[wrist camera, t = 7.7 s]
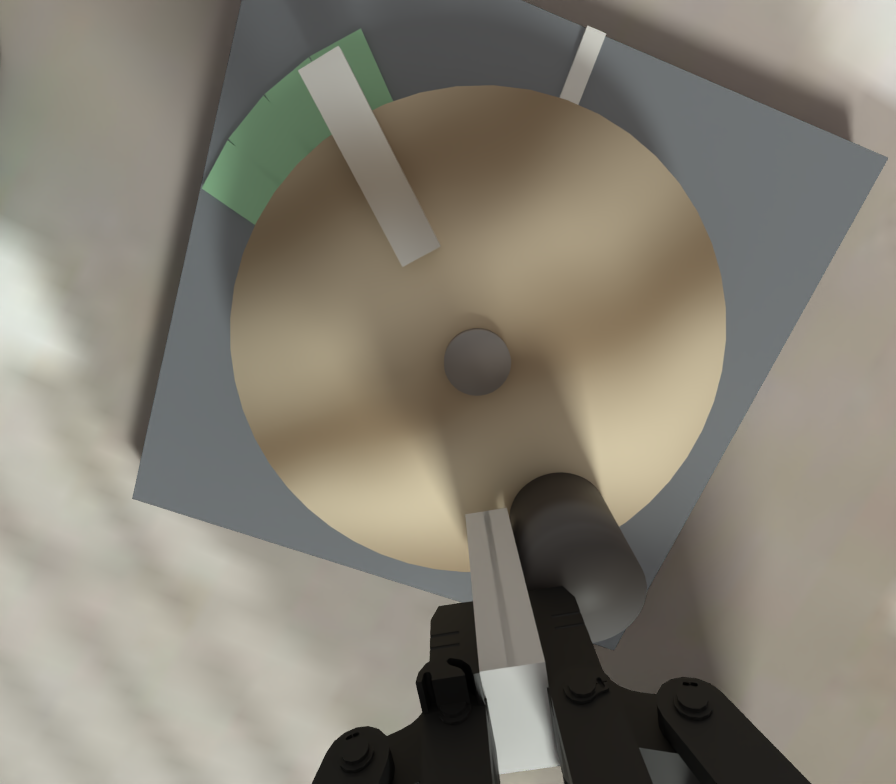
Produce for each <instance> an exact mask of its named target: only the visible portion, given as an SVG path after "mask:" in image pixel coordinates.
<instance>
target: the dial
mask: <svg viewBox="0 0 896 784" xmlns="http://www.w3.org/2000/svg"><path fill="white" fill-rule="evenodd" d="M298 72H299V74H300V75H301V77H302V79H303V81H304V83H305V85H306V87H307V89H308V90H309V92H310V94H311V96H312V98H313V100H314V102H315V104H316V105H317V107H318V109H319V111H320V113H321V115H322V117H323V119H324V120H325V122H326V124H327V126H328V128H329V130H330V132H331V134H332V135H330V136H329V137H327V138H326V139H325V140H323V141H322V142H321V143H320V144H319V145H318V146H317V147H315V148H314V149H313V150H312V151H311V152H310V153H309V154H308V155H307V156H306V157H305V158H304V159H302V160H301V161H300V162H299V163H298V164H297V165H296V166H295V167H294V169H293V170H292V171H291V172H290V174H289V175H288V176H287V177H286V179H285V180H284V181H283V182H282V183H281V185H280V186H279V187H278V188H277V190H276V191H275V192H274V194H273V195H272V197H271V199H270V200H269V202H268V204H267V205H266V207H265V209H264V210H263V212H262V214H261V215H260V217H259V219H258V220H257V222H256V224H255V226H254V229H253V231H252V233H251V236H250V238H249V241H248V243H247V245H246V248H245V250H244V252H243V255H242V259H241V263H240V266H239V270H238V274H237V278H236V281H235V285H234V292H233V300H232V308H231V315H230V350H231V357H232V364H233V372H234V379H235V383H236V387H237V390H238V394H239V398H240V401H241V405H242V409H243V412H244V414H245V416H246V419H247V421H248V423H249V426H250V428H251V430H252V433H253V435H254V438H255V440H256V441H257V443H258V445H259V446H260V448H261V450H262V452H263V453H264V455H265V457H266V458H267V460H268V462H269V464H270V465H271V466H272V468H273V469H274V470H275V472H276V473H277V474H278V476H279V477H280V478H281V480H282V481H283V482H284V483H285V485H286V486H287V487H288V488H289V490H290V491H291V492H292V493H293V494H294V495H295V496H296V497H297V498H298V499H299V500H300V501H301V502H302V503H303V504H304V505H305V506H306V507H307V508H308V509H309V510H311V511H312V512H313V513H314V514H315V515H317V516H318V517H319V518H320V519H322V520H323V521H324V522H325V523H327V524H328V525H329V526H330V527H332V528H334V529H335V530H337V531H338V532H340V533H342V534H343V535H345V536H346V537H348V538H350V539H351V540H353V541H354V542H356V543H358V544H360V545H363V546H365V547H367V548H369V549H371V550H373V551H375V552H377V553H380V554H382V555H385V556H388V557H391V558H394V559H397V560H400V561H403V562H406V563H409V564H414V565H418V566H423V567H428V568H432V569H438V570H448V571H458V572H470V561H469V550H468V539H467V528H466V517H465V514H470V513H477V512H483V511H489V510H495V509H502V508H507V511H508V515H509V519H510V523H511V527H512V531H513V535H514V539H515V543H516V547H517V551H518V555H519V559H520V563H521V567H522V571H523V575H524V579H525V583H526V587H527V591H532V590H539V589H545V588H551V587H558V586H563V587H564V588H566V589H567V590H568V591H569V592H570V593H571V594H572V595H573V596H575V598H576V601H577V604H578V606H579V609H580V613H581V614H582V617H583V620H584V622H585V625H586V628H587V630H588V633H589V636H590V638H591V641H592V643H594V642H599V641H603V640H606V639H608V638H611V637H613V636H615V635H617V634H619V633H620V632H622V631H623V630H625V629H626V628H627V627H628V626H629V625H630V624H631V623H632V622H633V621H634V620H635V619H636V618H637V616H638V615H639V613H640V612H641V610H642V608H643V605H644V603H645V599H646V594H647V582H646V578H645V574H644V572H643V569H642V568H641V566H640V564H639V562H638V560H637V558H636V557H635V555H634V553H633V551H632V549H631V548H630V546H629V544H628V542H627V540H626V539H625V537H624V535H623V533H622V531H621V530H620V528H619V527H620V526H621V525H623V524H624V523H626V522H627V521H628V520H629V519H631V518H632V517H633V516H634V515H635V514H637V513H638V512H639V511H640V510H641V509H642V508H644V507H645V506H646V505H647V504H648V503H649V502H650V501H651V500H652V499H653V498H654V497H655V496H656V495H657V494H658V493H659V492H660V491H661V490H662V489H663V488H664V487H665V485H666V484H667V483H668V482H669V481H670V480H671V478H672V477H673V476H674V474H675V473H676V472H677V470H678V469H679V468H680V466H681V465H682V464H683V462H684V461H685V459H686V458H687V457H688V455H689V453H690V451H691V450H692V448H693V446H694V444H695V442H696V441H697V439H698V437H699V435H700V434H701V432H702V430H703V427H704V425H705V422H706V420H707V418H708V415H709V413H710V410H711V408H712V405H713V403H714V400H715V396H716V392H717V388H718V384H719V381H720V377H721V373H722V367H723V359H724V352H725V344H726V305H725V299H724V292H723V285H722V278H721V273H720V269H719V266H718V263H717V259H716V256H715V252H714V249H713V245H712V242H711V240H710V238H709V236H708V233H707V231H706V229H705V227H704V225H703V222H702V220H701V218H700V216H699V214H698V212H697V210H696V208H695V207H694V205H693V204H692V202H691V201H690V199H689V197H688V196H687V194H686V193H685V191H684V190H683V188H682V186H681V185H680V183H679V182H678V181H677V180H676V179H675V177H674V176H673V175H672V174H671V173H670V172H669V171H668V169H667V168H666V167H665V166H664V165H663V164H662V162H661V161H660V160H659V159H658V158H657V157H656V156H655V155H654V154H653V153H652V152H651V151H649V150H648V149H647V148H646V147H645V146H644V145H642V144H641V143H640V142H639V141H638V140H637V139H635V138H634V137H633V136H632V135H631V134H630V133H628V132H626V131H625V130H623V129H622V128H620V127H619V126H617V125H615V124H614V123H612V122H611V121H609V120H607V119H606V118H604V117H603V116H601V115H600V114H598V113H595V112H593V111H591V110H588V109H586V108H584V107H582V106H579V105H577V104H575V103H573V102H570V101H568V100H566V99H562V98H559V97H555V96H551V95H548V94H544V93H540V92H537V91H533V90H528V89H520V88H512V87H504V86H495V85H485V86H455V87H449V88H443V89H438V90H432V91H426V92H420V93H417V94H414V95H411V96H408V97H405V98H402V99H399V100H396V101H393V102H390V103H387V104H384V105H382V106H380V107H378V108H376V109H374V110H372V109H371V107H370V105H369V103H368V101H367V99H366V97H365V95H364V93H363V91H362V89H361V87H360V85H359V83H358V81H357V79H356V77H355V75H354V73H353V71H352V69H351V67H350V65H349V63H348V61H347V60H346V58H345V56H344V54H343V52H342V50H341V49H340V47H339V46H337V47H335V48H334V49H332V50H330V51H329V52H327V53H325V54H324V55H322V56H321V57H319V58H317V59H316V60H314V61H312V62H311V63H309V64H308V65H306V66H304V67H303V68H301V69H299V70H298Z"/></svg>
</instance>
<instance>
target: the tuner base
mask: <svg viewBox="0 0 896 784" xmlns="http://www.w3.org/2000/svg"><path fill="white" fill-rule="evenodd" d="M337 46H339V47H340V49H341V50H342V52H343V54H344V56H345V58H346V60H347V61H348V63H349V65H350V67H351V69H352V71H353V73H354V75H355V77H356V79H357V81H358V83H359V85H360V87H361V89H362V91H363V93H364V95H365V97H366V99H367V101H368V103H369V105H370V107H371V109H372V110H374V109H376V108H378V107H380V106H382V105H384V104H387V103H390V102H393V101H396V100H399V99H402V98H405V97H408V96H411V95H414V94H417V93H420V92H426V91H432V90H438V89H443V88H449V87H455V86H485V85H495V86H504V87H512V88H520V89H528V90H533V91H537V92H540V93H544V94H548V95H551V96H555V97H559V98H562V99H566V100H568V101H570V102H573V103H575V104H577V105H579V106H582V107H584V108H586V109H588V110H591V111H593V112H595V113H598V114H600V115H601V116H603V117H604V118H606V119H607V120H609V121H611V122H612V123H614V124H615V125H617V126H619V127H620V128H622V129H623V130H625V131H626V132H628V133H630V134H631V135H632V136H633V137H634V138H635V139H637V140H638V141H639V142H640V143H641V144H642V145H644V146H645V147H646V148H647V149H648V150H649V151H651V152H652V153H653V154H654V155H655V156H656V157H657V158H658V159H659V160H660V161H661V162H662V164H663V165H664V166H665V167H666V168H667V169H668V171H669V172H670V173H671V174H672V175H673V176H674V177H675V179H676V180H677V181H678V182H679V183H680V185H681V186H682V188H683V190H684V191H685V193H686V194H687V196H688V197H689V199H690V201H691V202H692V204H693V205H694V207H695V208H696V210H697V212H698V214H699V216H700V218H701V220H702V222H703V225H704V227H705V229H706V231H707V233H708V236H709V238H710V240H711V242H712V245H713V249H714V252H715V256H716V259H717V263H718V266H719V269H720V273H721V278H722V285H723V292H724V299H725V305H726V344H725V352H724V359H723V367H722V373H721V377H720V381H719V384H718V388H717V392H716V396H715V400H714V403H713V405H712V408H711V410H710V413H709V415H708V418H707V420H706V422H705V425H704V427H703V430H702V432H701V434H700V435H699V437H698V439H697V441H696V442H695V444H694V446H693V448H692V450H691V451H690V453H689V455H688V457H687V458H686V459H685V461H684V462H683V464H682V465H681V466H680V468H679V469H678V470H677V472H676V473H675V474H674V476H673V477H672V478H671V480H670V481H669V482H668V483H667V484H666V485H665V487H664V488H663V489H662V490H661V491H660V492H659V493H658V494H657V495H656V496H655V497H654V498H653V499H652V500H651V501H650V502H649V503H648V504H647V505H646V506H645V507H644V508H642V509H641V510H640V511H639V512H638V513H637V514H635V515H634V516H633V517H632V518H631V519H629V520H628V521H627V522H626V523H624V524H623V525H621V526H620V527H619V528H620V530H621V531H622V533H623V535H624V537H625V539H626V540H627V542H628V544H629V546H630V548H631V549H632V551H633V553H634V555H635V557H636V558H637V560H638V562H639V564H640V566H641V568H642V569H643V572H644V574H645V578H646V582H647V590H648V588H649V587H650V585H651V583H652V581H653V579H654V578H655V576H656V574H657V572H658V571H659V569H660V567H661V565H662V563H663V562H664V560H665V558H666V556H667V554H668V553H669V551H670V549H671V547H672V545H673V544H674V542H675V540H676V538H677V536H678V535H679V533H680V531H681V529H682V527H683V526H684V524H685V522H686V520H687V518H688V517H689V515H690V513H691V511H692V510H693V508H694V506H695V504H696V502H697V501H698V499H699V497H700V495H701V493H702V492H703V490H704V488H705V486H706V484H707V483H708V481H709V479H710V477H711V475H712V474H713V472H714V470H715V468H716V466H717V465H718V463H719V461H720V459H721V457H722V456H723V454H724V452H725V450H726V448H727V447H728V445H729V443H730V441H731V440H732V438H733V436H734V434H735V432H736V431H737V429H738V427H739V425H740V423H741V422H742V420H743V418H744V416H745V414H746V413H747V411H748V409H749V407H750V405H751V404H752V402H753V400H754V398H755V396H756V395H757V393H758V391H759V389H760V387H761V386H762V384H763V382H764V380H765V379H766V377H767V375H768V373H769V371H770V370H771V368H772V366H773V364H774V362H775V361H776V359H777V357H778V355H779V353H780V352H781V350H782V348H783V346H784V344H785V343H786V341H787V339H788V337H789V335H790V334H791V332H792V330H793V328H794V326H795V325H796V323H797V321H798V319H799V317H800V316H801V314H802V312H803V310H804V309H805V307H806V305H807V303H808V301H809V300H810V298H811V296H812V294H813V292H814V291H815V289H816V287H817V285H818V283H819V282H820V280H821V278H822V276H823V274H824V273H825V271H826V269H827V267H828V265H829V264H830V262H831V260H832V258H833V256H834V255H835V253H836V251H837V249H838V248H839V246H840V244H841V242H842V240H843V239H844V237H845V235H846V233H847V231H848V230H849V228H850V226H851V224H852V222H853V221H854V219H855V217H856V215H857V213H858V212H859V210H860V208H861V206H862V204H863V203H864V201H865V199H866V197H867V195H868V194H869V192H870V190H871V188H872V186H873V185H874V183H875V181H876V179H877V178H878V176H879V174H880V172H881V170H882V169H883V167H884V165H885V163H886V161H887V160H888V157H885V156H883V155H881V154H878V153H876V152H874V151H871V150H869V149H867V148H864V147H862V146H860V145H857V144H855V143H853V142H850V141H848V140H846V139H843V138H841V137H839V136H836V135H834V134H832V133H829V132H827V131H825V130H822V129H820V128H818V127H815V126H813V125H811V124H808V123H806V122H804V121H801V120H799V119H797V118H794V117H792V116H790V115H788V114H785V113H783V112H781V111H778V110H776V109H774V108H771V107H769V106H767V105H764V104H762V103H760V102H757V101H755V100H753V99H750V98H748V97H746V96H743V95H741V94H739V93H736V92H734V91H732V90H729V89H727V88H725V87H722V86H720V85H718V84H715V83H713V82H711V81H708V80H706V79H704V78H701V77H699V76H697V75H694V74H692V73H690V72H687V71H685V70H683V69H680V68H678V67H676V66H674V65H671V64H669V63H667V62H664V61H662V60H660V59H657V58H655V57H653V56H650V55H648V54H646V53H643V52H641V51H639V50H636V49H634V48H632V47H629V46H627V45H625V44H622V43H620V42H618V41H615V40H613V39H611V38H608V37H606V33H604V32H601V31H599V30H597V29H594V28H592V27H590V26H587V27H586V28H585V27H583V26H580V25H578V24H576V23H573V22H571V21H569V20H566V19H564V18H562V17H559V16H557V15H555V14H553V13H550V12H548V11H546V10H543V9H541V8H539V7H536V6H534V5H532V4H529V3H527V2H525V1H522V0H242V1H241V5H240V10H239V15H238V19H237V24H236V28H235V33H234V37H233V42H232V46H231V51H230V56H229V60H228V65H227V69H226V74H225V78H224V83H223V87H222V92H221V97H220V101H219V106H218V110H217V115H216V119H215V124H214V128H213V133H212V138H211V142H210V147H209V151H208V156H207V160H206V165H205V170H204V174H203V179H202V183H201V188H200V192H199V197H198V201H197V206H196V211H195V215H194V220H193V224H192V229H191V233H190V238H189V242H188V247H187V252H186V256H185V261H184V265H183V270H182V274H181V279H180V283H179V288H178V293H177V297H176V302H175V306H174V311H173V315H172V320H171V324H170V329H169V334H168V338H167V343H166V347H165V352H164V356H163V361H162V365H161V370H160V375H159V379H158V384H157V388H156V393H155V397H154V402H153V406H152V411H151V416H150V420H149V425H148V429H147V434H146V438H145V443H144V448H143V452H142V457H141V461H140V466H139V470H138V475H137V479H136V484H135V489H134V493H133V498H132V499H135V500H138V501H141V502H144V503H148V504H151V505H154V506H157V507H160V508H163V509H167V510H170V511H173V512H176V513H179V514H183V515H186V516H189V517H192V518H195V519H198V520H202V521H205V522H208V523H211V524H214V525H217V526H221V527H224V528H227V529H230V530H233V531H237V532H240V533H243V534H246V535H249V536H252V537H256V538H259V539H262V540H265V541H268V542H271V543H275V544H278V545H281V546H284V547H287V548H291V549H294V550H297V551H300V552H303V553H306V554H310V555H313V556H316V557H319V558H322V559H325V560H329V561H332V562H335V563H338V564H341V565H345V566H348V567H351V568H354V569H357V570H360V571H364V572H367V573H370V574H373V575H376V576H380V577H383V578H386V579H389V580H392V581H395V582H399V583H402V584H405V585H408V586H411V587H414V588H418V589H421V590H424V591H427V592H430V593H434V594H437V595H440V596H443V597H446V598H449V599H453V600H456V601H459V602H462V603H464V602H470V601H473V595H472V584H471V572H458V571H448V570H438V569H432V568H428V567H423V566H418V565H414V564H409V563H406V562H403V561H400V560H397V559H394V558H391V557H388V556H385V555H382V554H380V553H377V552H375V551H373V550H371V549H369V548H367V547H365V546H363V545H360V544H358V543H356V542H354V541H353V540H351V539H350V538H348V537H346V536H345V535H343V534H342V533H340V532H338V531H337V530H335V529H334V528H332V527H330V526H329V525H328V524H327V523H325V522H324V521H323V520H322V519H320V518H319V517H318V516H317V515H315V514H314V513H313V512H312V511H311V510H309V509H308V508H307V507H306V506H305V505H304V504H303V503H302V502H301V501H300V500H299V499H298V498H297V497H296V496H295V495H294V494H293V493H292V492H291V491H290V490H289V488H288V487H287V486H286V485H285V483H284V482H283V481H282V480H281V478H280V477H279V476H278V474H277V473H276V472H275V470H274V469H273V468H272V466H271V465H270V464H269V462H268V460H267V458H266V457H265V455H264V453H263V452H262V450H261V448H260V446H259V445H258V443H257V441H256V440H255V438H254V435H253V433H252V430H251V428H250V426H249V423H248V421H247V419H246V416H245V414H244V412H243V409H242V405H241V401H240V398H239V394H238V390H237V387H236V383H235V379H234V372H233V364H232V357H231V350H230V315H231V308H232V300H233V292H234V285H235V281H236V278H237V274H238V270H239V266H240V263H241V259H242V255H243V252H244V250H245V248H246V245H247V243H248V241H249V238H250V236H251V233H252V231H253V229H254V226H255V224H256V222H257V220H258V219H259V217H260V215H261V214H262V212H263V210H264V209H265V207H266V205H267V204H268V202H269V200H270V199H271V197H272V195H273V194H274V192H275V191H276V190H277V188H278V187H279V186H280V185H281V183H282V182H283V181H284V180H285V179H286V177H287V176H288V175H289V174H290V172H291V171H292V170H293V169H294V167H295V166H296V165H297V164H298V163H299V162H300V161H301V160H302V159H304V158H305V157H306V156H307V155H308V154H309V153H310V152H311V151H312V150H313V149H314V148H315V147H317V146H318V145H319V144H320V143H321V142H322V141H323V140H325V139H326V138H327V137H329V136H330V135H332V134H331V132H330V130H329V128H328V126H327V124H326V122H325V120H324V119H323V117H322V115H321V113H320V111H319V109H318V107H317V105H316V104H315V102H314V100H313V98H312V96H311V94H310V92H309V90H308V89H307V87H306V85H305V83H304V81H303V79H302V77H301V75H300V74H299V72H298V70H299V69H301V68H303V67H304V66H306V65H308V64H309V63H311V62H312V61H314V60H316V59H317V58H319V57H321V56H322V55H324V54H325V53H327V52H329V51H330V50H332V49H334V48H335V47H337ZM625 630H626V629H625ZM625 630H623V631H622V632H620V633H619V634H617V635H615V636H613V637H611V638H608V639H606V640H603V641H599V642H594V643H592V644H596V645H599V646H602V647H605V648H608V649H611V650H614V649H615V648H616V646H617V644H618V642H619V640H620V639H621V637H622V635H623V633H624V632H625Z"/></svg>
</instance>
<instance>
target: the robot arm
mask: <svg viewBox="0 0 896 784" xmlns="http://www.w3.org/2000/svg"><path fill="white" fill-rule="evenodd" d="M465 517H466V528H467V539H468V550H469V561H470V572H471V584H472V595H473V601H470V602H464V603H457V604H451V605H444V606H439V607H438V608H437V610H436V612H435V614H434V616H433V617H432V619H431V629H430V636H431V638H430V662H428V663H426V664H425V665H424V667H423V668H422V669H421V670H420V672H419V673H418V676H417V680H416V686H417V691H418V695H419V699H420V704H421V708H422V713H421V715H420V716H419V717H418V718H417V719H416V720H415V721H414V722H413V723H412V724H410V725H408V726H407V727H405V728H403V729H401V730H399V731H397V732H395V733H393V734H391V735H388V736H386V735H385V734H384V733H383V732H382V731H380V730H379V729H377V728H373V727H369V726H367V727H357V728H355V729H352V730H350V731H348V732H345V733H344V734H343V735H341V736H340V737H339V738H338V739H337V740H335V741H334V742H333V744H332V745H331V747H330V748H329V750H328V751H327V753H326V755H325V757H324V759H323V761H322V763H321V765H320V767H319V770H318V772H317V774H316V776H315V778H314V780H313V782H312V784H500V778H499V774H505V773H512V772H519V771H527V770H534V769H541V768H548V767H554V766H561V770H562V773H563V780H564V784H811V783H810V782H809V781H808V780H807V779H806V778H805V777H804V776H803V775H802V774H801V773H800V772H799V771H798V770H797V769H796V768H795V767H794V766H793V764H792V763H791V762H790V761H789V760H788V759H787V758H786V757H785V756H784V755H783V754H782V753H781V752H780V751H779V750H778V749H777V748H776V747H775V746H774V745H773V744H772V743H771V742H770V741H769V740H768V739H767V738H766V737H765V736H764V735H763V734H762V733H761V732H760V731H759V730H758V729H757V728H756V727H755V726H754V725H753V724H752V723H751V722H750V721H749V720H748V719H747V718H746V717H745V715H744V714H743V713H742V712H741V711H740V710H739V709H738V708H737V707H736V706H735V705H734V704H733V703H732V702H731V701H730V700H729V699H728V698H727V697H726V696H725V695H724V694H723V693H722V692H721V691H719V690H718V689H717V688H715V687H714V686H713V685H711V684H710V683H707V682H705V681H702V680H699V679H697V678H688V677H681V678H675V679H671V680H669V681H668V682H666V683H664V684H663V685H661V687H660V689H659V691H658V693H657V694H649V693H640V692H635V691H631V690H628V689H625V688H623V687H620V686H619V685H617V684H616V683H614V682H613V681H611V680H610V678H609V677H608V676H607V675H606V674H605V673H604V671H603V669H602V667H601V665H600V662H599V660H598V657H597V654H596V652H595V649H594V646H593V644H592V641H591V638H590V636H589V633H588V630H587V628H586V625H585V622H584V620H583V617H582V614H581V613H580V609H579V606H578V604H577V601H576V598H575V596H573V595H572V594H571V593H570V592H569V591H568V590H567V589H566V588H564V587H563V586H558V587H551V588H545V589H539V590H532V591H527V587H526V583H525V579H524V575H523V571H522V567H521V563H520V559H519V555H518V551H517V547H516V543H515V539H514V535H513V531H512V527H511V523H510V519H509V515H508V511H507V508H502V509H495V510H489V511H483V512H477V513H470V514H465Z"/></svg>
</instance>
